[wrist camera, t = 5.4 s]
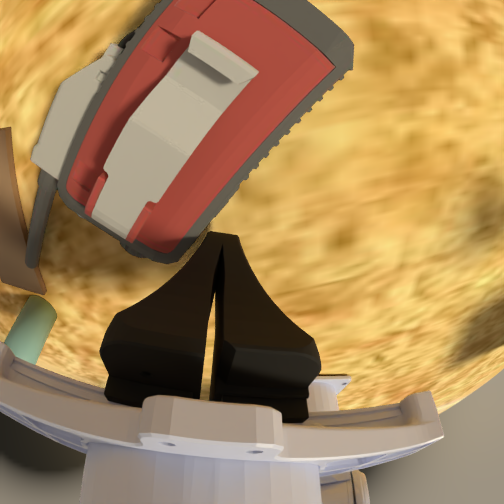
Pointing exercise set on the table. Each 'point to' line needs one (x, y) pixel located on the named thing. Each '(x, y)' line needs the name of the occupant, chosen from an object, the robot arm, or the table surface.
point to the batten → (13, 226)
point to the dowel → (31, 329)
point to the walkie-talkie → (181, 117)
